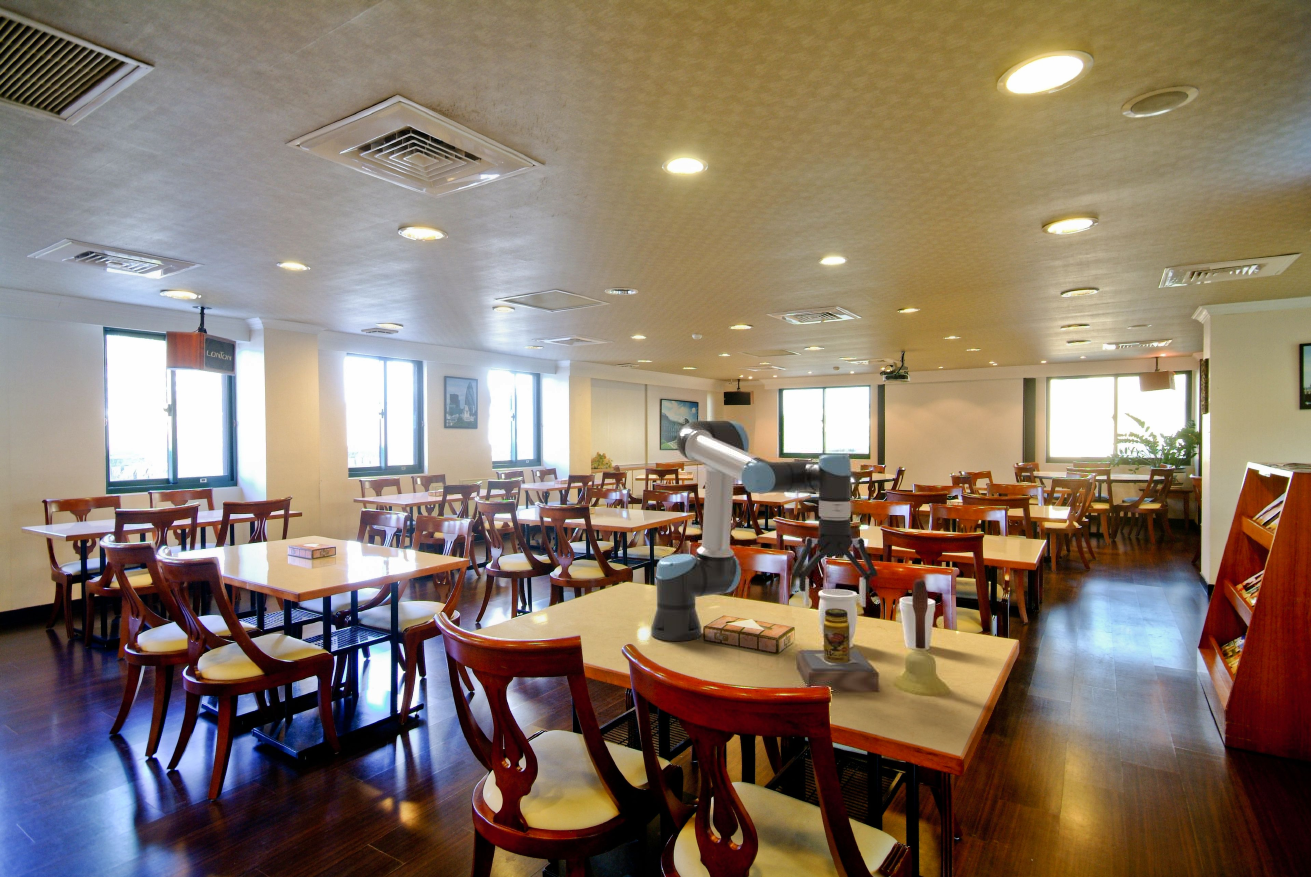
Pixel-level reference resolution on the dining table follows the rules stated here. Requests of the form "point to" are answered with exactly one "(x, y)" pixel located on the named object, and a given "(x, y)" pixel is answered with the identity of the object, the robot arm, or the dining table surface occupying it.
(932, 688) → the handbell
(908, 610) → the foam cup
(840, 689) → the stand
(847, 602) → the jar
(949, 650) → the dining table surface
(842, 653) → the condiment
